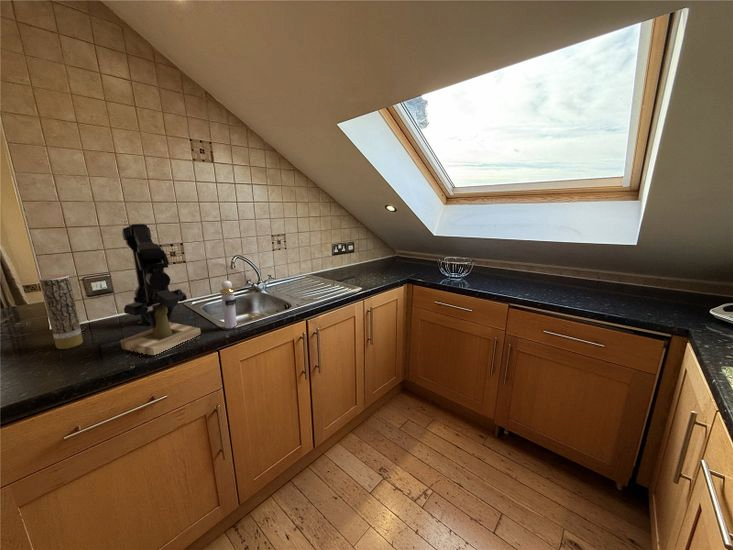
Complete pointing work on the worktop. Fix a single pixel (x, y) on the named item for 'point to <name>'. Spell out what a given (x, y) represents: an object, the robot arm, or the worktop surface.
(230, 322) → the perfume bottle
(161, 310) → the cork
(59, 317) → the grey bark cylinder
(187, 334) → the socket board
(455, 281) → the worktop surface
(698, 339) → the worktop surface
